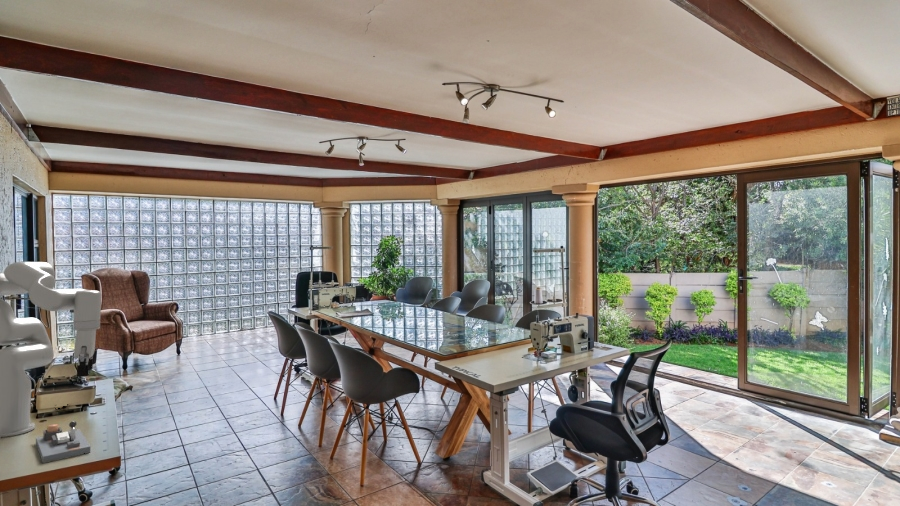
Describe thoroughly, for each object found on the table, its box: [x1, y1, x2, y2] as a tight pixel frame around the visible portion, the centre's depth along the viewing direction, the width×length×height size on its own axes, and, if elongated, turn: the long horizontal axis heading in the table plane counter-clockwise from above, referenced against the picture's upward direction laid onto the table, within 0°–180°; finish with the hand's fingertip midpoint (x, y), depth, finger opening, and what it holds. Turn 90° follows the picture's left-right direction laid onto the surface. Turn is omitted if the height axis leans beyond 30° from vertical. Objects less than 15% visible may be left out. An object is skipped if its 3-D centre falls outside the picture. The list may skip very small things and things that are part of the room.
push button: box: [46, 423, 59, 433], centre depth 163 cm, size 3×3×3 cm
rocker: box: [56, 430, 70, 443], centre depth 160 cm, size 5×3×1 cm, turn 46°
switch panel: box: [35, 426, 91, 464], centre depth 160 cm, size 22×12×4 cm, turn 46°
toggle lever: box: [68, 420, 78, 440], centre depth 157 cm, size 2×2×6 cm
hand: (84, 373), depth 166 cm, fingers open, 9 cm apart
